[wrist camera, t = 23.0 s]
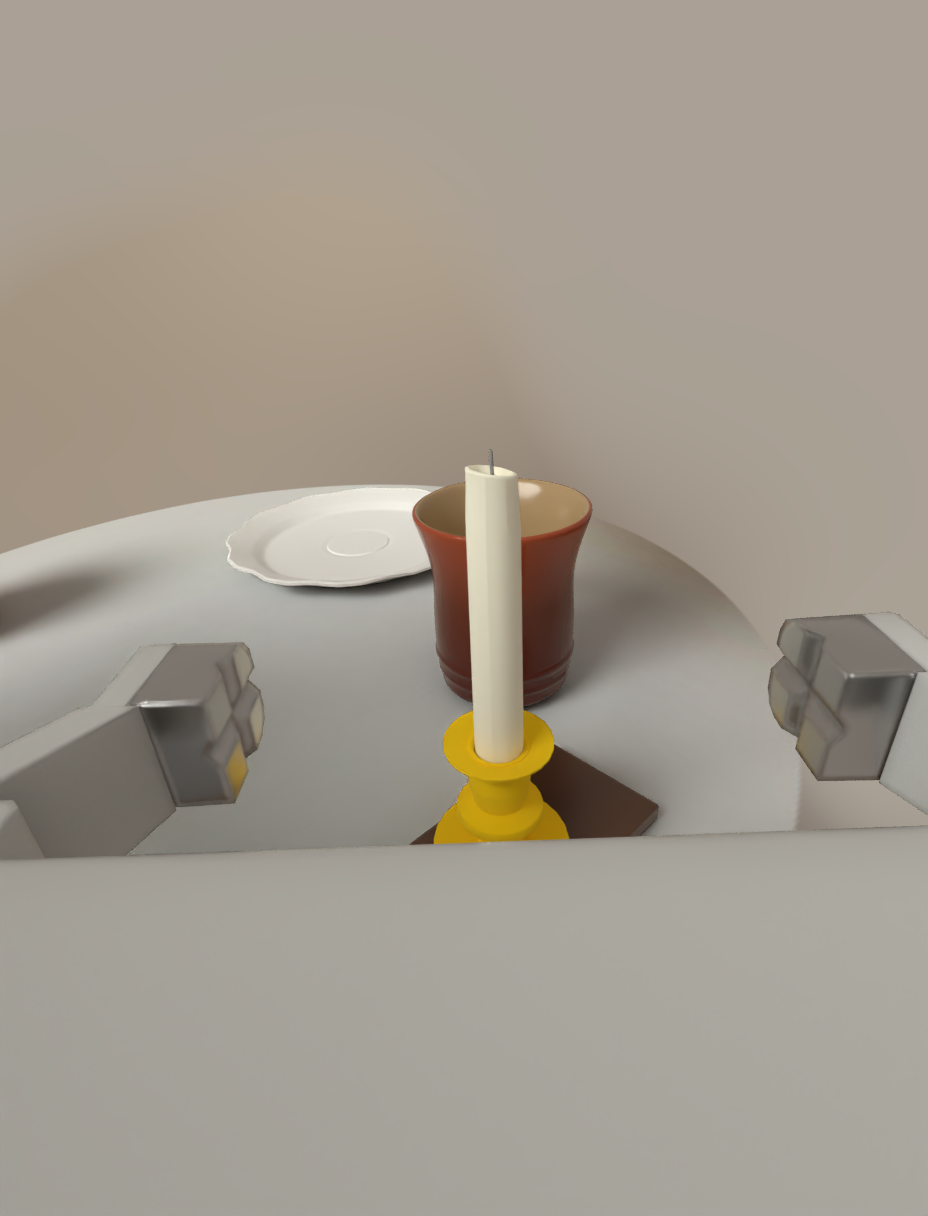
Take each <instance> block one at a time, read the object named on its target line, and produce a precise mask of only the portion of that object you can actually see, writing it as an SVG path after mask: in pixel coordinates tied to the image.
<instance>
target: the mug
mask: <svg viewBox="0 0 928 1216" xmlns="http://www.w3.org/2000/svg"><path fill="white" fill-rule="evenodd" d="M518 490H519V507H520V525H521V576H522V655H523V707H526V706H529V705H532V704H535V703H538V702H540V701H542V700H544V699H546V698H548V697H550V696H551V695H553V694H554V693H555V692H557V691H558V690H559V689H560V688H561V686H562V685H563V683H564V682H565V680H566V677H567V672H568V667H569V663H570V658H571V655H572V652H573V648H574V640H573V626H574V591H573V583H574V569H575V563H576V558H577V554H578V551H579V548H580V545H581V542H582V539H583V536H584V534H585V531H586V528H587V526H588V523H589V520H590V518H591V514H592V504H591V502H590V501H589V499H588V498H587V497H586V496H585V495H584V494H582V493H580V492H579V491H577V490H575V489H572V488H570V487H568V486H564V485H561V484H557V483H553V482H547V481H541V480H533V479H521V478H518ZM465 494H466V482H464V483H458V484H453V485H450V486H447V487H444V488H441V489H439V490H436V491H434V492H432V493H430V494H428V495H426V496H424V497H423V498H421V499H420V500H419V501H418V502H417V503H416V504H415V506H414V508H413V510H412V517H413V521H414V524H415V526H416V528H417V531H418V533H419V535H420V538H421V540H422V543H423V545H424V548H425V550H426V553H427V556H428V559H429V562H430V565H431V570H432V576H433V585H434V615H435V629H436V651H437V654H438V657H439V663H440V667H441V669H442V672H443V675H444V679H445V681H446V683H447V685H448V686H449V687H450V689H451V690H452V691H453V692H454V693H456V694H457V695H458V696H460V697H461V698H463V699H465V700H467V701H469V702H472V703H473V694H472V669H471V645H470V620H469V596H468V571H467V547H466V523H465Z"/></svg>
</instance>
